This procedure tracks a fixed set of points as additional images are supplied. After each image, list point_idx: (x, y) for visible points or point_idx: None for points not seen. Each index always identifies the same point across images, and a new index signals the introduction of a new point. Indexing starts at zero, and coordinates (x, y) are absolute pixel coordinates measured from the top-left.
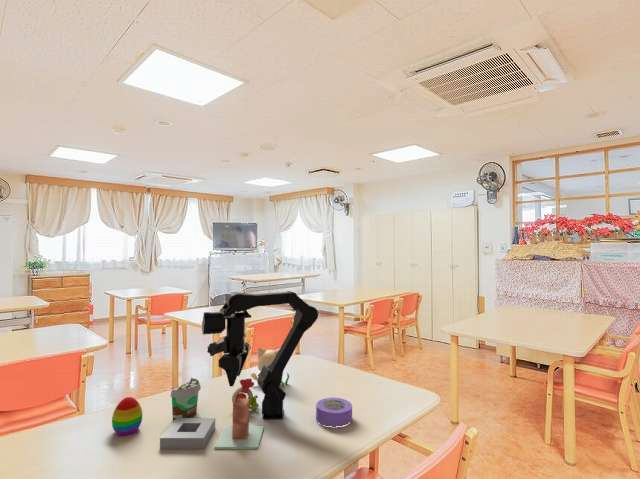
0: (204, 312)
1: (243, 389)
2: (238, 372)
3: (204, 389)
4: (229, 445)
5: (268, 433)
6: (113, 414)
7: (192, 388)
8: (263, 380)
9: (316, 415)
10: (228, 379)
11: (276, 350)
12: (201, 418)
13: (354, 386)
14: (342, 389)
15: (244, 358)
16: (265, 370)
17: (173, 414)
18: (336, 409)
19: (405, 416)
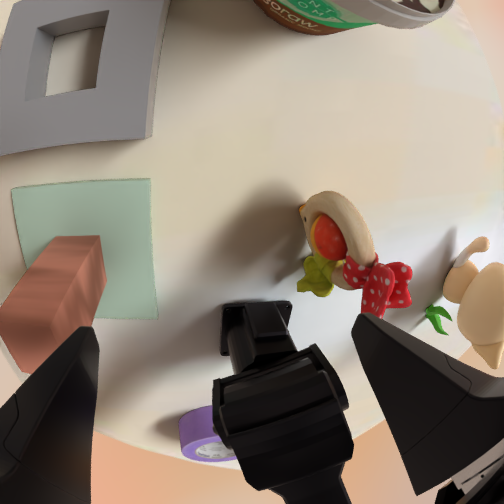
0: None
1: (351, 268)
2: (367, 349)
3: (469, 84)
4: (24, 236)
5: (126, 329)
6: None
7: None
8: (231, 444)
9: (211, 416)
10: (38, 374)
11: (502, 350)
12: (146, 69)
13: (358, 416)
14: (354, 407)
15: (413, 466)
16: (292, 468)
17: None
18: None
19: (227, 465)
